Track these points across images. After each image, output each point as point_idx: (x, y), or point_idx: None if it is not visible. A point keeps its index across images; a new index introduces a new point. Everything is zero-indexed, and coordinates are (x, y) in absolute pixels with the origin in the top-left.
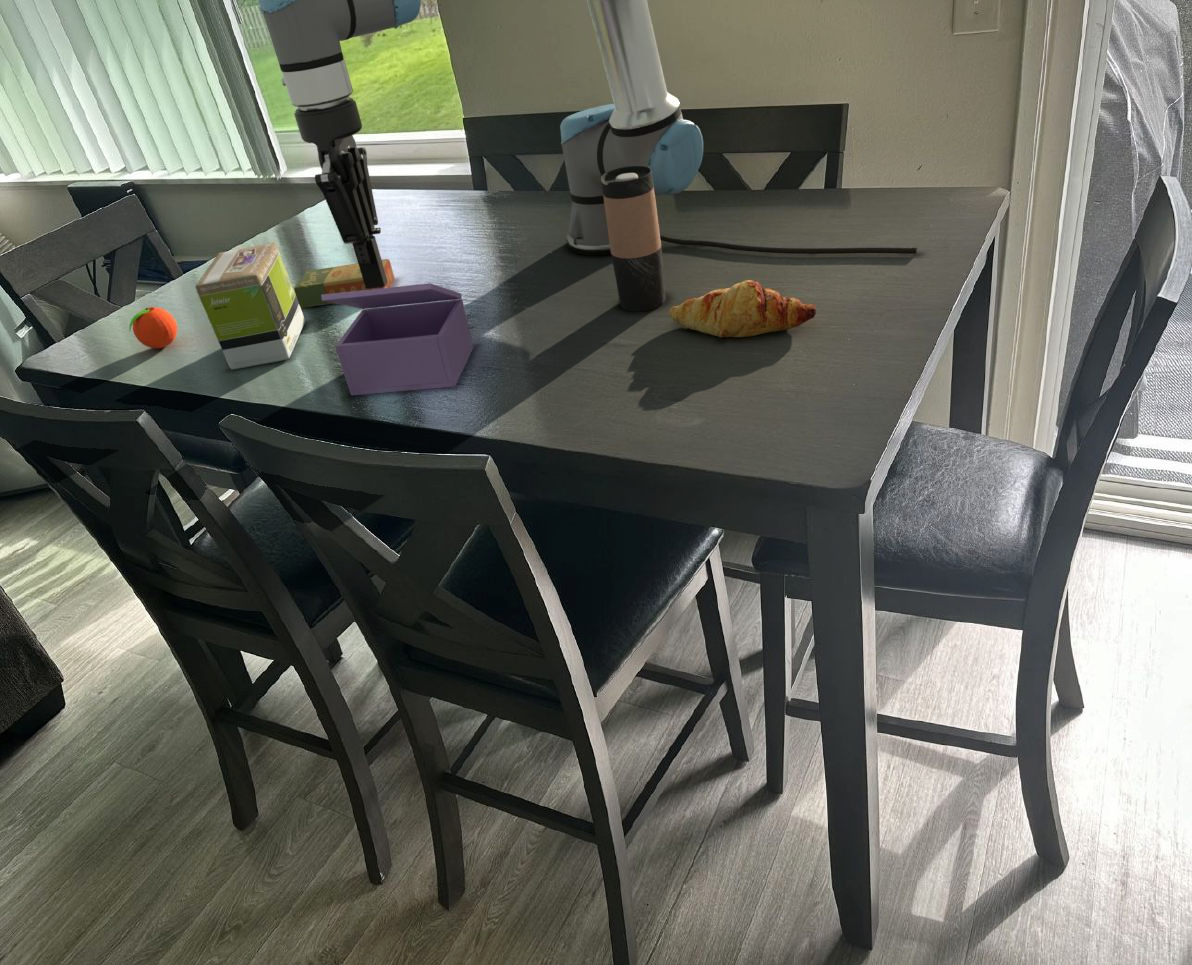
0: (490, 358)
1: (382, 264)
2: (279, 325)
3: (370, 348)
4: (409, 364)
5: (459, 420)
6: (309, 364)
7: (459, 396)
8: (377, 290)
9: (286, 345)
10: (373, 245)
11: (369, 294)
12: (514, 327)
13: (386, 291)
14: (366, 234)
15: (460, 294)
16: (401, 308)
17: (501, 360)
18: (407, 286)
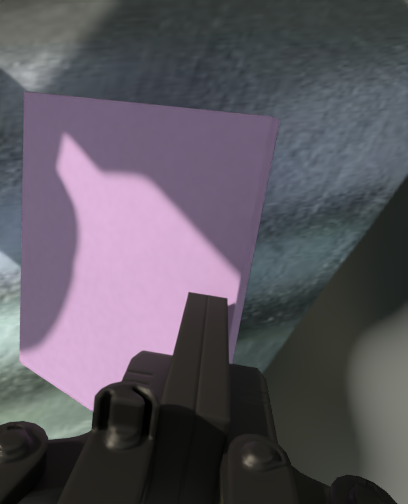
0: (154, 67)
1: (183, 323)
2: None
3: None
4: None
5: (404, 116)
6: (77, 414)
7: (304, 124)
8: (237, 320)
9: None
10: (222, 393)
11: (234, 343)
12: (9, 15)
13: (243, 289)
14: (270, 472)
15: (32, 92)
16: None
17: (172, 39)
18: (256, 213)
